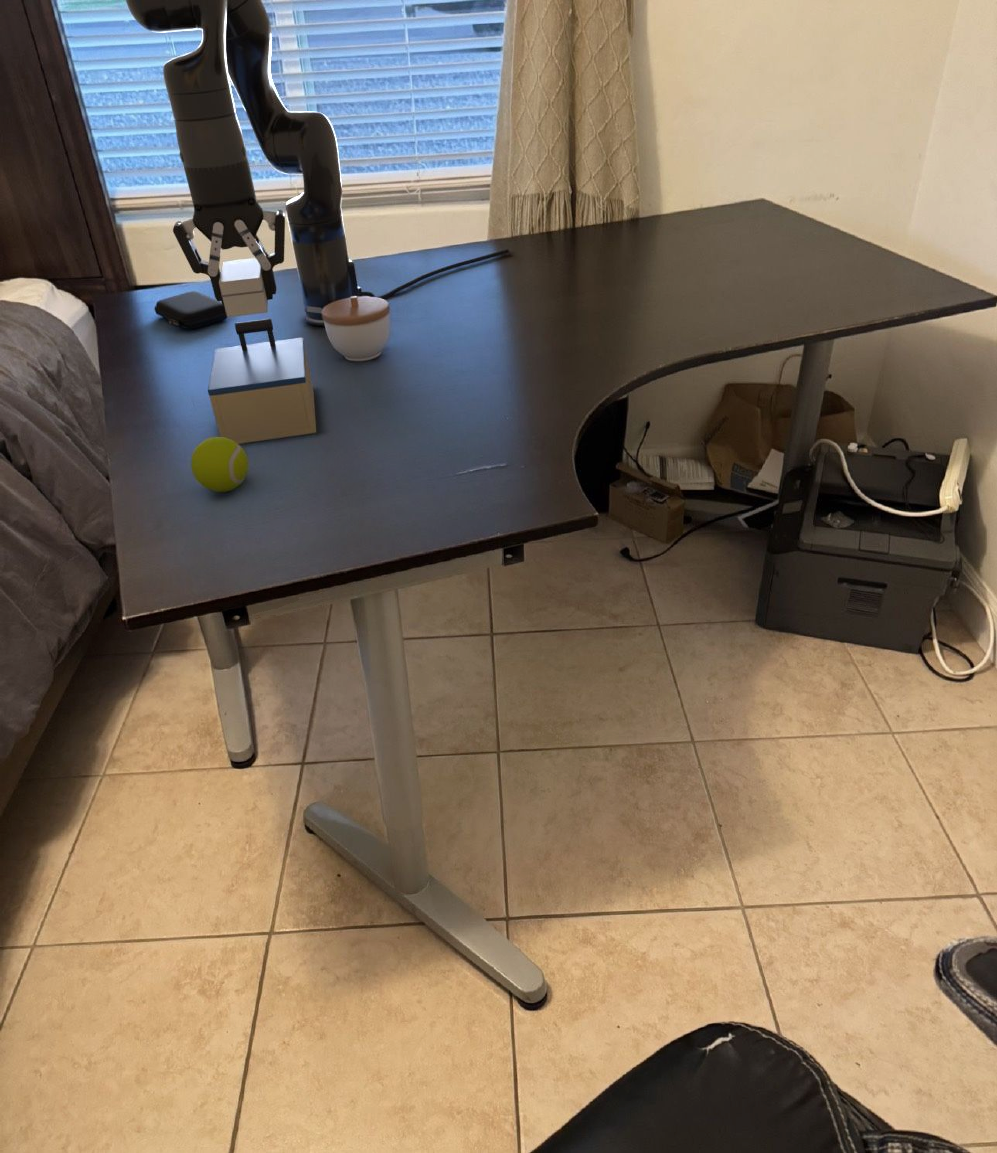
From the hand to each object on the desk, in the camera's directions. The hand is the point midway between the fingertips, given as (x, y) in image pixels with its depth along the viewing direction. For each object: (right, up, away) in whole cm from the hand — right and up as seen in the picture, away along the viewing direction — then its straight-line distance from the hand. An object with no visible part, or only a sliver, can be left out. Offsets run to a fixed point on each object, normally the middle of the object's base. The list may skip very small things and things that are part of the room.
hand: (247, 300), depth 113 cm
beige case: (0, 0, 0) cm, 0 cm away
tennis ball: (-1, -25, -5) cm, 26 cm away
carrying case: (-25, +12, +49) cm, 56 cm away
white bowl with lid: (+11, 0, +29) cm, 31 cm away
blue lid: (0, -7, +7) cm, 10 cm away
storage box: (0, -13, +11) cm, 17 cm away
